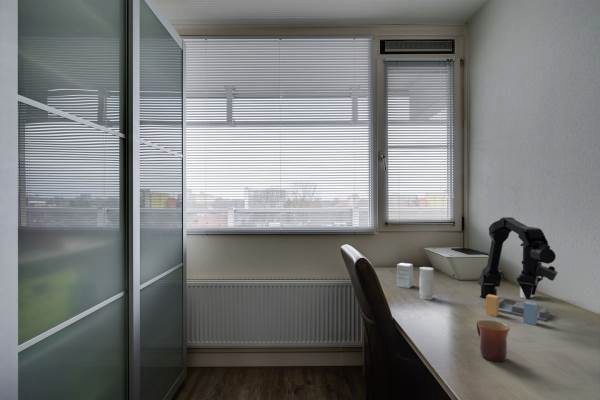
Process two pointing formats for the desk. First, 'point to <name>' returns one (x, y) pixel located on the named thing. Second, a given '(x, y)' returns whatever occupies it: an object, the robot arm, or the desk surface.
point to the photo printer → (524, 295)
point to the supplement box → (404, 275)
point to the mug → (493, 339)
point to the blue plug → (530, 313)
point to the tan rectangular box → (492, 305)
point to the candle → (426, 283)
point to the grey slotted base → (521, 310)
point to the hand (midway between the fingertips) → (530, 297)
